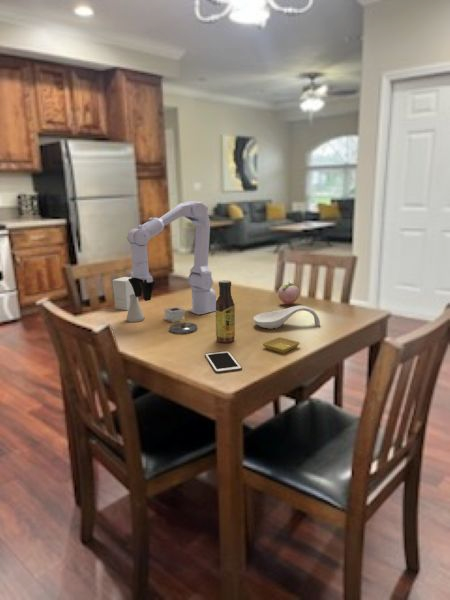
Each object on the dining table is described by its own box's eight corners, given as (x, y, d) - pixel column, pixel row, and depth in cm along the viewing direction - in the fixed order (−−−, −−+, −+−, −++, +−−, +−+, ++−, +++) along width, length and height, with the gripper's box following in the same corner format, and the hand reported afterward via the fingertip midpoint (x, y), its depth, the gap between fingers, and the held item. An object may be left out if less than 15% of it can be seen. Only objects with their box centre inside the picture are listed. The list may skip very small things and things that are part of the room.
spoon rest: (255, 332, 158) (255, 312, 156) (251, 322, 170) (251, 304, 168) (322, 329, 159) (323, 310, 157) (314, 320, 171) (315, 301, 169)
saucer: (261, 349, 142) (261, 343, 142) (279, 342, 148) (279, 336, 148) (283, 356, 136) (283, 349, 136) (300, 348, 142) (300, 342, 142)
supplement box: (139, 306, 195) (137, 277, 192) (127, 310, 189) (124, 281, 186) (126, 304, 199) (124, 276, 196) (114, 308, 193) (111, 279, 190)
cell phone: (215, 375, 124) (215, 371, 124) (204, 356, 138) (204, 353, 138) (243, 371, 126) (242, 368, 126) (228, 353, 140) (228, 350, 140)
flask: (140, 322, 172) (138, 297, 170) (122, 322, 174) (120, 296, 171) (147, 317, 179) (145, 292, 177) (130, 316, 181) (128, 292, 178)
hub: (188, 323, 170) (187, 312, 168) (202, 330, 162) (202, 317, 160) (164, 329, 164) (163, 317, 163) (178, 335, 156) (177, 323, 155)
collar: (177, 316, 179) (177, 306, 178) (185, 319, 175) (184, 309, 174) (165, 319, 176) (164, 309, 175) (172, 322, 171) (171, 312, 170)
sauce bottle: (228, 344, 146) (227, 284, 141) (212, 341, 149) (210, 282, 145) (239, 338, 152) (237, 280, 147) (223, 335, 155) (221, 278, 150)
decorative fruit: (284, 301, 197) (285, 278, 195) (302, 303, 193) (302, 280, 190) (274, 306, 190) (274, 282, 188) (291, 309, 185) (291, 285, 183)
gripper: (121, 261, 168) (124, 296, 172) (138, 266, 157) (141, 304, 160) (139, 258, 172) (141, 293, 176) (156, 263, 161) (159, 300, 164)
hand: (142, 298), depth 168 cm, fingers open, 7 cm apart
